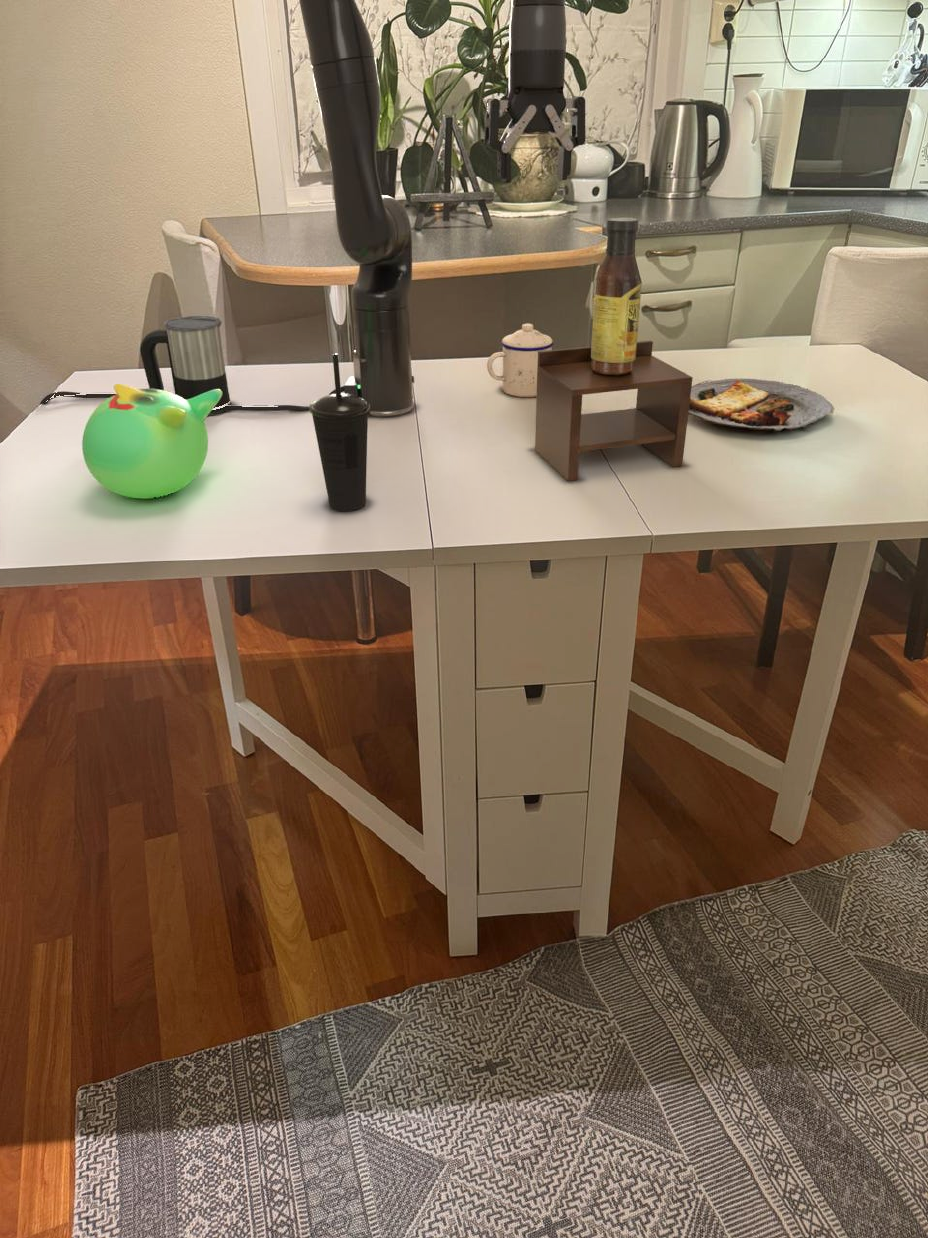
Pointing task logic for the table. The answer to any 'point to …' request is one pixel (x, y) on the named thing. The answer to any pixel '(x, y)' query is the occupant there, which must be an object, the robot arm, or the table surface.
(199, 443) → the toy bird
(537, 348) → the teacup with lid
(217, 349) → the milk frother
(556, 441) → the shelf
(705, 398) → the food plate
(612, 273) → the sauce bottle
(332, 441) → the drinking cup
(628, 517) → the table surface
